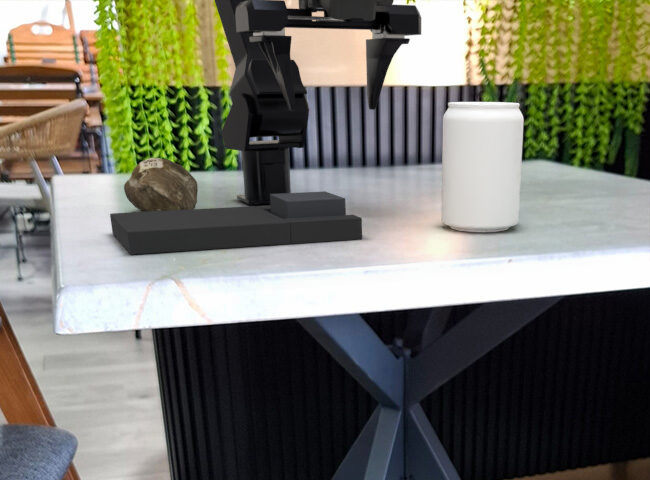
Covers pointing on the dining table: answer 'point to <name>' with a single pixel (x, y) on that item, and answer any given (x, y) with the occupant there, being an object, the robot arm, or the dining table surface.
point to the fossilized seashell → (161, 186)
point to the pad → (307, 204)
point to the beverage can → (481, 165)
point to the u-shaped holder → (225, 229)
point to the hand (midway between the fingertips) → (332, 109)
